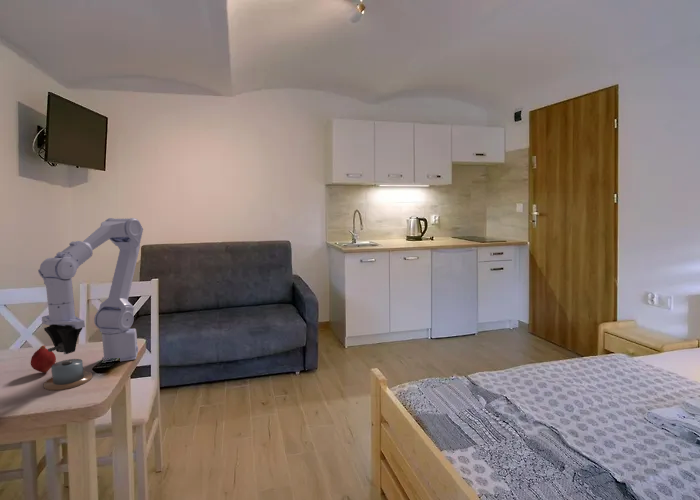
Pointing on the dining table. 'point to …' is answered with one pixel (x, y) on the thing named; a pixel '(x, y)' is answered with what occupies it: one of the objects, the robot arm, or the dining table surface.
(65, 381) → the dispenser
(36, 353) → the red round fruit
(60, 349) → the pump head
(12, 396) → the dining table surface
